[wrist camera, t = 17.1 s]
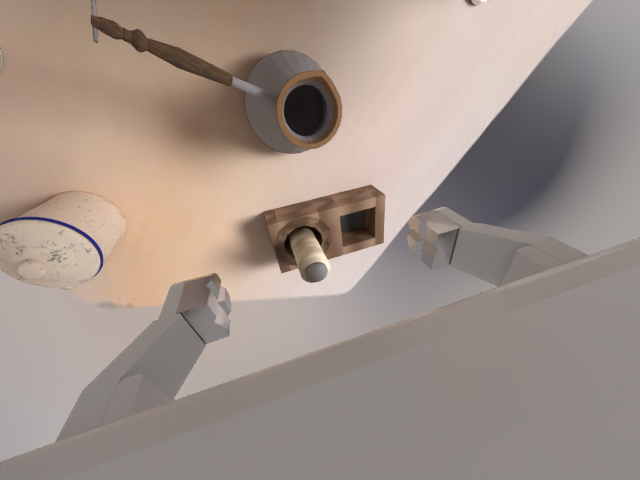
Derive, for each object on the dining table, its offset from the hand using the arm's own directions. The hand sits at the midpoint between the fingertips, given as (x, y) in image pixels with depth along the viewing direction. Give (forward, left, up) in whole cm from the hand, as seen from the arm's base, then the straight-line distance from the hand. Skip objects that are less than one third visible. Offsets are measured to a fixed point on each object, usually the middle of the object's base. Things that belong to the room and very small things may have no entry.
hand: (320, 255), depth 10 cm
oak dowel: (-2, +16, -29) cm, 33 cm away
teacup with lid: (+27, +7, -30) cm, 41 cm away
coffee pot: (0, -6, -30) cm, 30 cm away
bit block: (-7, +16, -29) cm, 34 cm away
